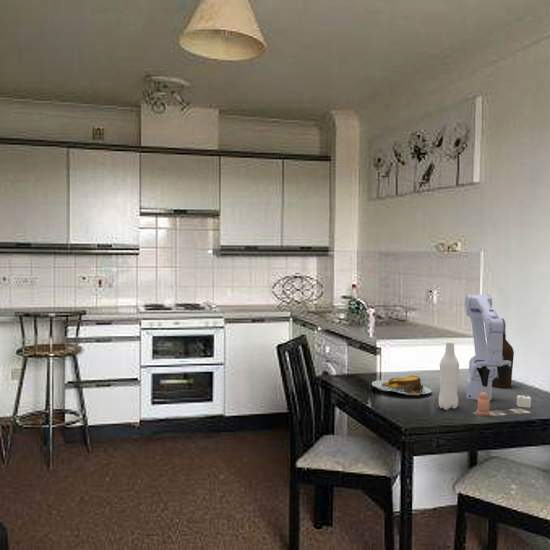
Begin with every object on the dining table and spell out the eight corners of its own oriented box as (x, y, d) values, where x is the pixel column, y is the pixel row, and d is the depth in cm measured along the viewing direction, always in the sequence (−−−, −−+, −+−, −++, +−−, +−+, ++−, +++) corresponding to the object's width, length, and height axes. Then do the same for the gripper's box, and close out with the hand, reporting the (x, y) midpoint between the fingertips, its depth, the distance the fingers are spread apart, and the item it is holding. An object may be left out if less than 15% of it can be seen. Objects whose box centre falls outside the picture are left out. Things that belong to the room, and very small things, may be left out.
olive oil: (495, 382, 282) (497, 328, 281) (517, 386, 273) (519, 331, 272) (482, 385, 275) (484, 330, 274) (504, 389, 267) (506, 333, 266)
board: (483, 419, 217) (483, 417, 217) (470, 414, 224) (470, 412, 224) (532, 415, 225) (532, 412, 225) (518, 410, 231) (518, 408, 231)
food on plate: (371, 384, 274) (372, 369, 274) (428, 387, 270) (429, 372, 270) (371, 397, 249) (372, 381, 249) (434, 401, 245) (434, 385, 245)
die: (518, 409, 233) (518, 397, 233) (516, 406, 238) (516, 395, 238) (530, 410, 232) (531, 398, 232) (528, 407, 237) (529, 395, 236)
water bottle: (458, 411, 228) (461, 345, 227) (439, 410, 229) (441, 344, 228) (456, 407, 235) (458, 342, 234) (437, 405, 236) (439, 341, 235)
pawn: (475, 414, 220) (476, 392, 220) (477, 411, 224) (478, 390, 224) (488, 416, 218) (489, 394, 218) (490, 413, 222) (491, 391, 222)
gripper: (485, 352, 224) (484, 389, 224) (517, 351, 229) (515, 386, 229) (473, 349, 230) (471, 385, 231) (504, 348, 235) (503, 382, 236)
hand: (493, 385), depth 231 cm, fingers open, 7 cm apart
